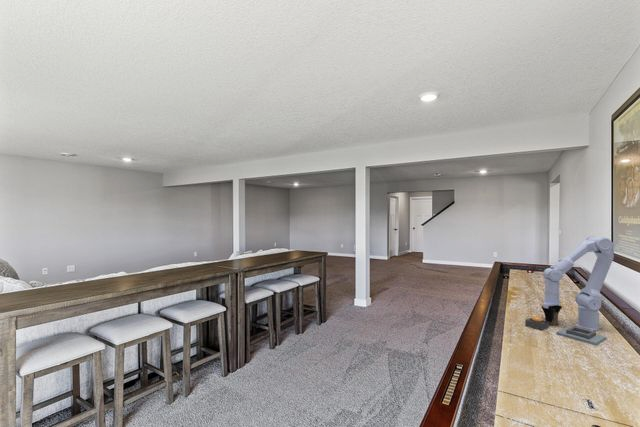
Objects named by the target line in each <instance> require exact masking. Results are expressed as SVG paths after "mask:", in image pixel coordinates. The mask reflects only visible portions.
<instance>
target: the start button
mask: <svg viewBox="0 0 640 427" xmlns="http://www.w3.org/2000/svg"><path fill="white" fill-rule="evenodd" d="M531 318H532V321H535V322H538V323H542V320H543V317H540V316H535V315H533V316H531Z"/></svg>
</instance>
